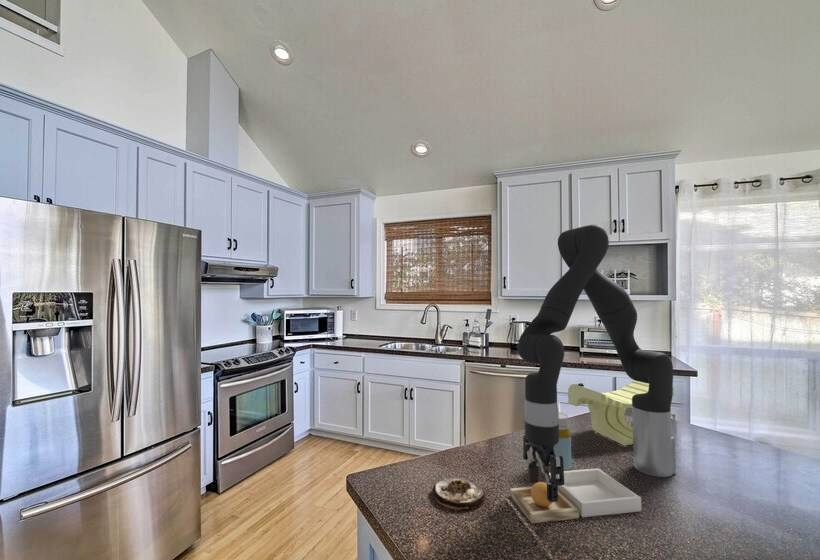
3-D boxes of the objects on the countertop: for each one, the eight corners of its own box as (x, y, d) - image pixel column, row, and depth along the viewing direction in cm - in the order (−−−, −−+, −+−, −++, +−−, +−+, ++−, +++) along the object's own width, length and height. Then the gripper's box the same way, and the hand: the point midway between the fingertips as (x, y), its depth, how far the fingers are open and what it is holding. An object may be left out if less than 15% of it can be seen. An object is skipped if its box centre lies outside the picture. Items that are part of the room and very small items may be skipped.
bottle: (573, 475, 102) (572, 419, 102) (546, 473, 103) (545, 418, 104) (568, 464, 108) (567, 412, 109) (543, 462, 110) (542, 410, 110)
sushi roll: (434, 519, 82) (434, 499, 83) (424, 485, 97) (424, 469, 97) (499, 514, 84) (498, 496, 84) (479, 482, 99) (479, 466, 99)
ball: (547, 498, 88) (546, 477, 89) (558, 510, 84) (558, 487, 84) (527, 500, 88) (527, 478, 88) (537, 512, 83) (537, 489, 83)
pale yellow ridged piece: (636, 424, 142) (634, 377, 143) (675, 439, 127) (673, 387, 128) (568, 431, 135) (567, 382, 136) (602, 449, 119) (600, 392, 120)
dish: (598, 481, 98) (598, 468, 98) (641, 513, 84) (641, 497, 84) (547, 486, 96) (547, 472, 96) (582, 519, 81) (582, 503, 82)
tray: (552, 494, 92) (551, 484, 92) (579, 520, 81) (578, 509, 81) (510, 498, 90) (510, 488, 90) (532, 525, 79) (531, 514, 79)
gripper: (574, 429, 80) (575, 506, 79) (540, 409, 94) (541, 475, 93) (541, 431, 79) (543, 510, 78) (512, 411, 93) (513, 477, 92)
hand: (542, 491), depth 86 cm, fingers open, 8 cm apart
